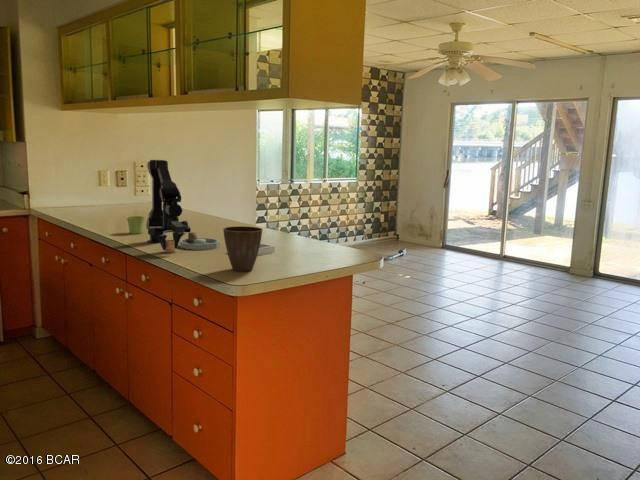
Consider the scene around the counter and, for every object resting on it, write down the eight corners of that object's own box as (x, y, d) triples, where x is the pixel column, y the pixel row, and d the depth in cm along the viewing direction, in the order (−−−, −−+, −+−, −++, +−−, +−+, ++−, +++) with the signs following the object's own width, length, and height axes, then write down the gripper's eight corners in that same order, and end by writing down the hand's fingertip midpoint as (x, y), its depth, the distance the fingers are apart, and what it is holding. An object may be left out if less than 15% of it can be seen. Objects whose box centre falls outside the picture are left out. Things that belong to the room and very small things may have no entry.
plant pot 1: (122, 233, 280) (122, 217, 279) (133, 231, 289) (132, 215, 288) (138, 235, 278) (138, 218, 277) (148, 232, 287) (148, 216, 286)
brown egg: (163, 251, 237) (163, 240, 236) (171, 250, 240) (171, 239, 239) (168, 252, 235) (168, 241, 234) (176, 251, 238) (176, 240, 237)
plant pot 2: (217, 267, 210) (217, 226, 207) (253, 264, 217) (253, 225, 214) (230, 275, 197) (231, 232, 194) (267, 272, 204) (268, 230, 202)
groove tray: (172, 245, 251) (172, 239, 251) (202, 241, 265) (202, 235, 264) (196, 251, 240) (196, 244, 240) (226, 246, 254) (226, 240, 253)
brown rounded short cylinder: (186, 243, 255) (186, 232, 255) (193, 242, 258) (193, 232, 258) (191, 244, 253) (191, 233, 252) (198, 243, 256) (198, 233, 255)
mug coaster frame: (228, 252, 240) (228, 245, 240) (253, 248, 253) (253, 241, 252) (249, 257, 232) (249, 250, 231) (275, 252, 244) (275, 246, 243)
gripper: (162, 217, 223) (162, 254, 225) (198, 214, 237) (198, 249, 240) (146, 215, 229) (147, 250, 232) (182, 212, 244) (183, 246, 246)
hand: (170, 249), depth 237 cm, fingers open, 6 cm apart
